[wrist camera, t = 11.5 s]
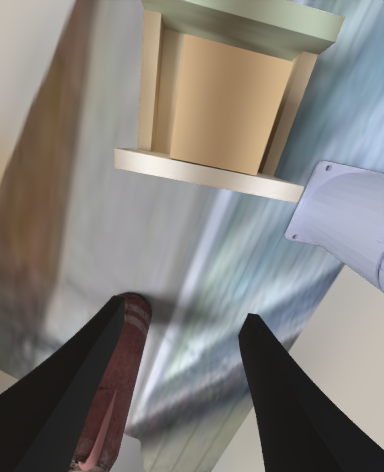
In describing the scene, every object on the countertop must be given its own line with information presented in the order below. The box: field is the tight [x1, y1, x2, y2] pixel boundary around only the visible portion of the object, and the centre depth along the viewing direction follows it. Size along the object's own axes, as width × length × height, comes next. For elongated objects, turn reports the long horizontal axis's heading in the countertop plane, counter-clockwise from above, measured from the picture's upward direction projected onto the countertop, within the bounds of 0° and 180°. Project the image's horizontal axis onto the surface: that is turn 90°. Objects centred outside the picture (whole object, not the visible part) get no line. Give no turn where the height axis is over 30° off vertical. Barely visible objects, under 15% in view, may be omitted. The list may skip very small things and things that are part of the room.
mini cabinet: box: [170, 34, 294, 176], centre depth 12 cm, size 5×6×6 cm
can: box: [68, 293, 152, 472], centre depth 18 cm, size 6×6×14 cm
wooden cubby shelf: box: [115, 0, 345, 203], centre depth 12 cm, size 11×10×7 cm
